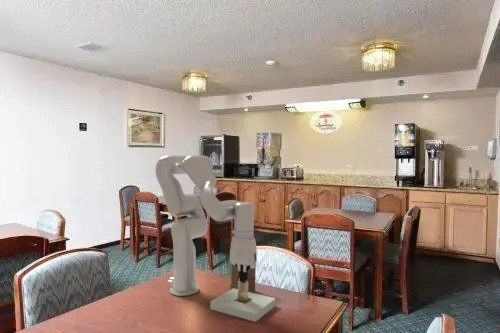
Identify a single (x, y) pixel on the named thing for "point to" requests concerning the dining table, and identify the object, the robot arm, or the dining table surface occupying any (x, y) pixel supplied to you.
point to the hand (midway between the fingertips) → (243, 281)
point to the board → (243, 305)
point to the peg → (243, 292)
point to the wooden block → (236, 278)
